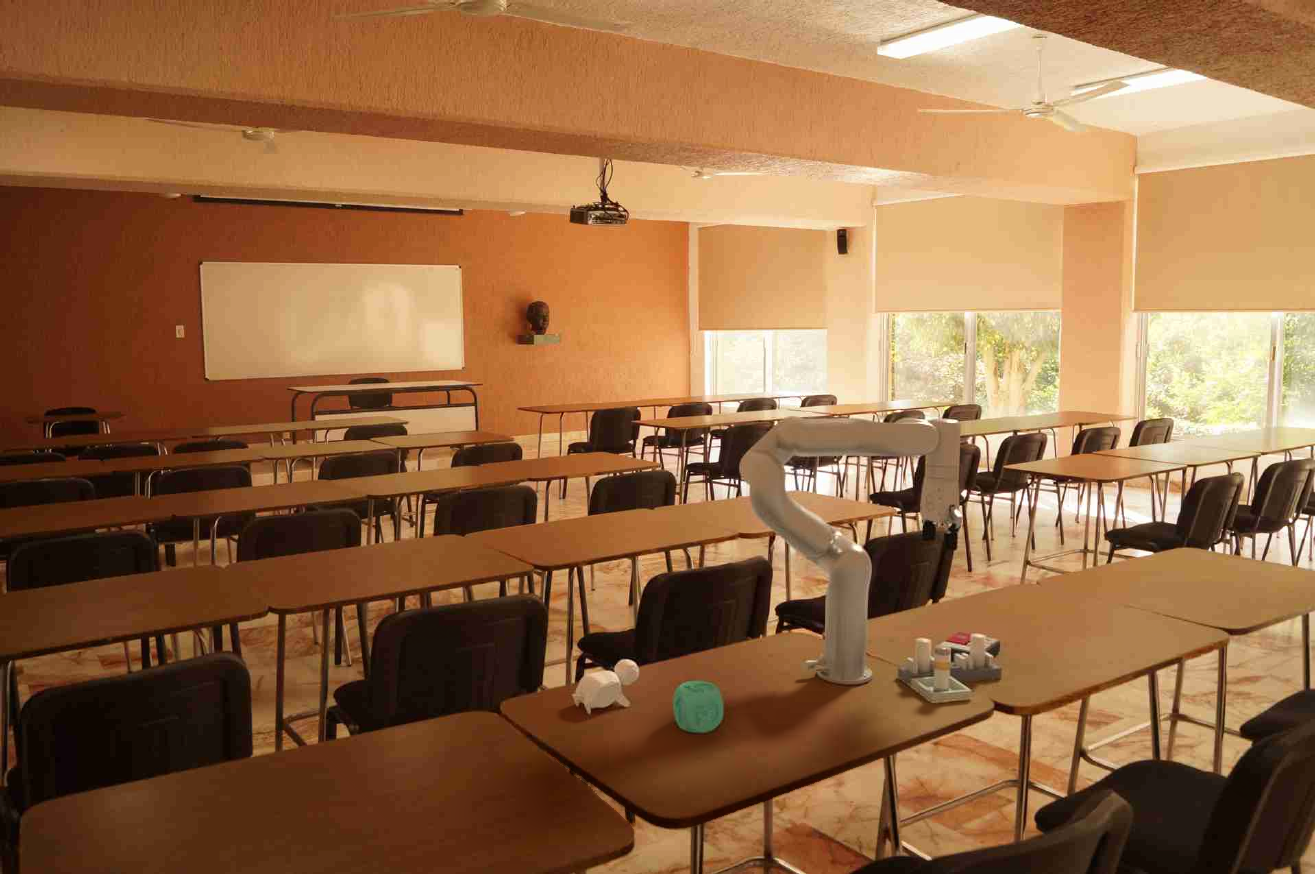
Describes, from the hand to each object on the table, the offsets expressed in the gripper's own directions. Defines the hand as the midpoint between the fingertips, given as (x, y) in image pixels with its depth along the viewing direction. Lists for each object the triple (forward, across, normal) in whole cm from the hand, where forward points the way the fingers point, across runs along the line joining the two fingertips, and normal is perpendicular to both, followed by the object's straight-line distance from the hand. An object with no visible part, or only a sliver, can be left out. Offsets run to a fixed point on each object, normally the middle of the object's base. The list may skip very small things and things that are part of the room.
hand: (939, 545), depth 227 cm
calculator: (+31, -8, +14) cm, 35 cm away
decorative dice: (+31, +17, -63) cm, 72 cm away
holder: (+30, +5, +1) cm, 31 cm away
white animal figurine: (+31, +2, -79) cm, 84 cm away
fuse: (+30, +13, -6) cm, 33 cm away
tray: (+30, +13, -6) cm, 34 cm away
